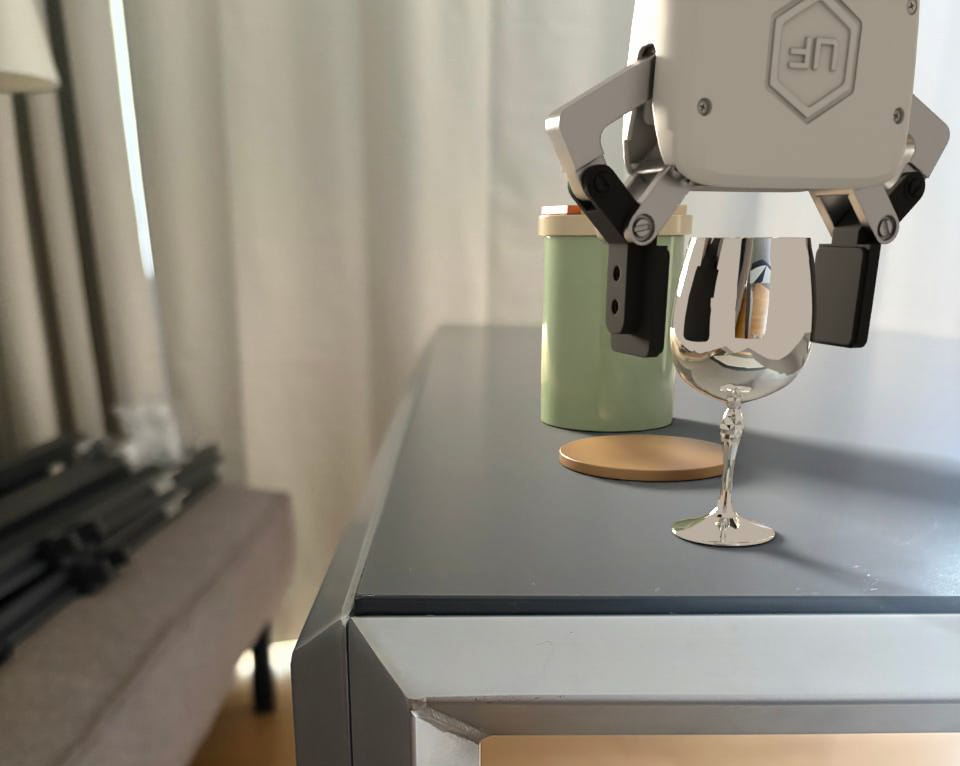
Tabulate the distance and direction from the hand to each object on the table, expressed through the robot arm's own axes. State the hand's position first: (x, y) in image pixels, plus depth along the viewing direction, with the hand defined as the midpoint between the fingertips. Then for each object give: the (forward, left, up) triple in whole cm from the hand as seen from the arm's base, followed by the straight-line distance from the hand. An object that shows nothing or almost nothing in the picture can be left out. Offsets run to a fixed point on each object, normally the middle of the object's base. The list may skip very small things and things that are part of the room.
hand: (738, 348), depth 41 cm
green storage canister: (-8, -27, -8) cm, 29 cm away
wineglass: (0, 0, -8) cm, 8 cm away
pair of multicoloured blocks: (-6, -27, +5) cm, 28 cm away
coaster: (-4, -14, -8) cm, 16 cm away
